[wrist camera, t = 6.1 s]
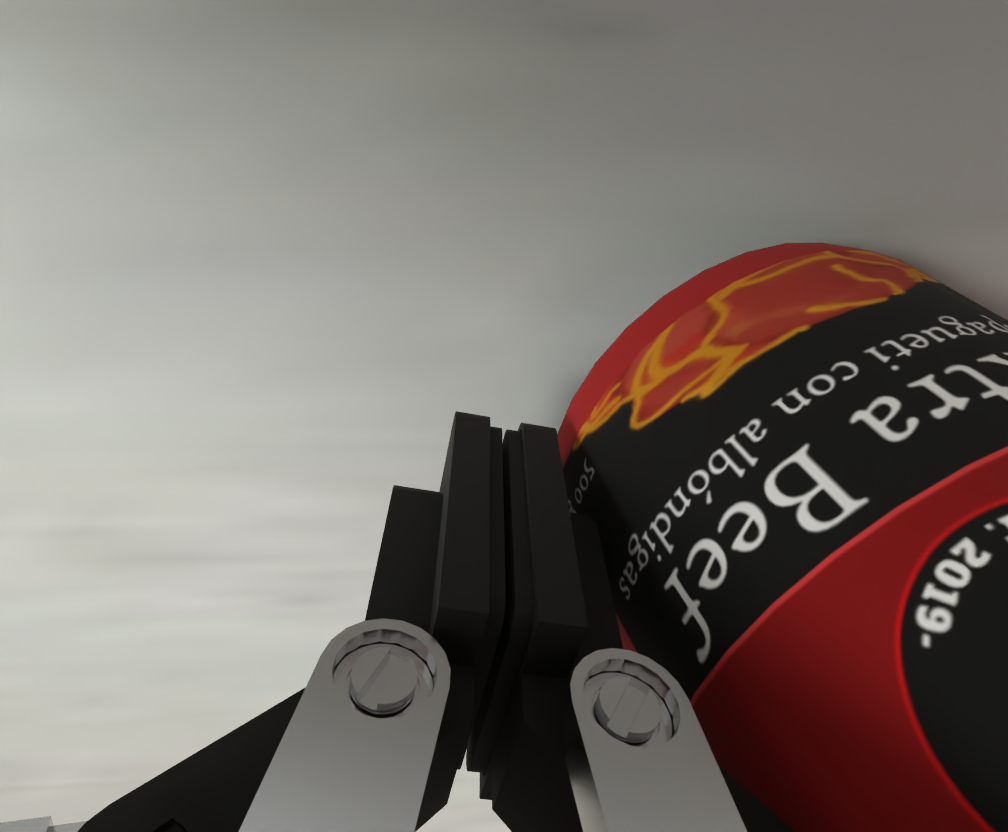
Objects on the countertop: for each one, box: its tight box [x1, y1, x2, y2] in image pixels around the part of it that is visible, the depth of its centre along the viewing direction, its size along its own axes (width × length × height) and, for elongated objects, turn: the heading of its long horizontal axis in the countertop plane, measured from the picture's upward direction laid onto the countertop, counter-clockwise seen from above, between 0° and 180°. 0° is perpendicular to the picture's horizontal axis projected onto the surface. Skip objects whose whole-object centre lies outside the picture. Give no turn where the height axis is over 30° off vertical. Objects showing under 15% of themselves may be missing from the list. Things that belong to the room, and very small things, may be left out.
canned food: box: [557, 243, 1008, 832], centre depth 8 cm, size 8×8×11 cm
